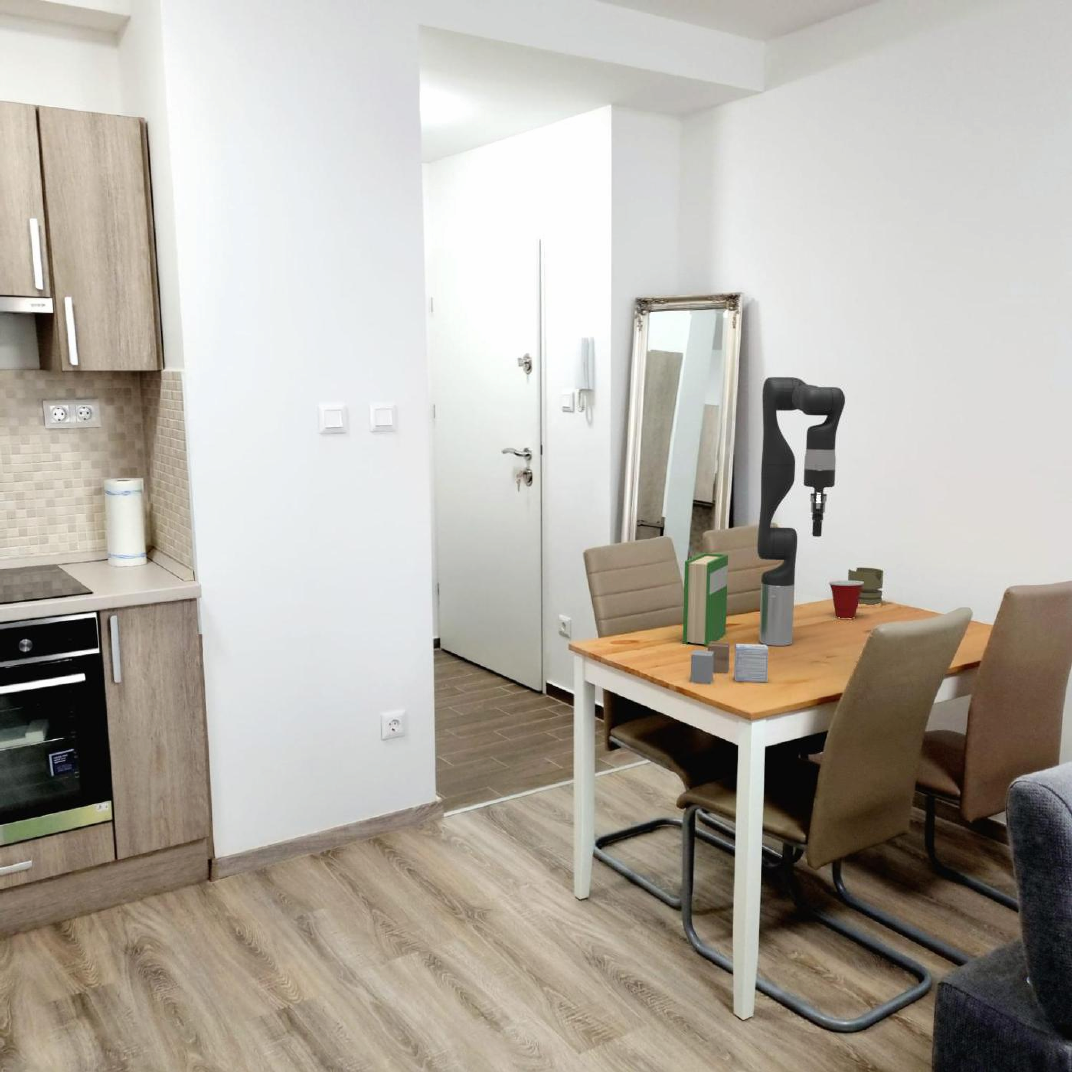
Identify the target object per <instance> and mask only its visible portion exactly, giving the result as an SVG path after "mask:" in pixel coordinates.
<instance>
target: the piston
mask: <svg viewBox="0 0 1072 1072" xmlns="http://www.w3.org/2000/svg"><path fill="white" fill-rule="evenodd" d="M847 570H848V571H847V572H848V573H847V581H862V582H864V584H863V585H862V589H861V592H860V597H859V602H858V604H866V605H875V604H879V603H881V602H882V601H883V597H882V596H883V591H882V590H880V589H883V585H884V583H883V582H884V581H883V580H884V570H883V569H880V568H873V567H856V570H852V569H850V568H849V569H847Z"/></svg>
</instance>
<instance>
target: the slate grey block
mask: <svg viewBox="0 0 1072 1072" xmlns="http://www.w3.org/2000/svg"><path fill="white" fill-rule="evenodd" d="M713 660H714V652H713V651H708V650H697V649H695V650H694V649H693V650H692V652H691V655H690V682H693V684H702V685H703V684H705V685H712V683H711V682H713V680H714V673H713ZM690 682H689V683H690Z"/></svg>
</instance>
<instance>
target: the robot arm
mask: <svg viewBox="0 0 1072 1072" xmlns="http://www.w3.org/2000/svg"><path fill="white" fill-rule="evenodd" d="M845 396H846V395H845V394H844V391H843V390H842V389H841V388H840V387H838V386H823V387H822V386H817V385H813V384H808V383H806V382H805V381H804V380H802V379H800V378H798V377H794V376H793V377H790V376H787V377H786V376H772V377H771V376H769V377H767V378H766V379H765V380H764V382H763V386H762V399H761V400H762V429H763V430H762V431H763V432H762V433H763V435H762V436H763V437H762V454H761V455H762V456H761V467H760V468H761V469H760V510H759V520H758V531H757V544H756V546H757V555H758V558H759V559H761V560H766V561H767V560H768V561H769V560H771V561H782V563H781V564H780V565H779V566H777V567H775V568H773V569H770V570H767V571H764V572H763V573H762V574H761V582H760V583H761V585H760V609H759V610H760V612H759V638H758V639H759V640H758V641H759V643H761V644H762V645H767V646H777V647H782V646H789V645H792V644H793V630H794V629H793V628H794V611H795V610H794V608H795V607H794V605H795V584H796V583H795V577H796V576H795V575H796V560H797V559H796V558H797V550H798V533H797V531H796V529H795V528H794V527H774V526H773V527H771V526H772V525H771V524H772V521H773V517H774V515H775V514H776V511H777V509H778V507H779V506H780V504H781V503H782V501H783V500H784V499H785V497H786V496H787V495H788V493H789V492H790V490H791V489H792V487H793V485H794V482H795V480H796V479H795V475H796V474H795V473H796V458H795V454H794V452H793V450H792V447H790V445H789V443H788V442H787V440H786V438H785V436H784V435H783V433H782V430H781V429H780V426H779V425H780V424H779V422H778V416H777V415H778V414H777V412H779V411H780V412H781V411H784V412H787V411H788V412H789V411H790V412H791V411H797V410H799V411H801V412H802V413H803V414H804V415H806V416H826V418H825V420H824V421H823V422H822V423H820V424H815V425H811V426H809V427H808V428H807V430H806V442H805V443H806V445H805V446H806V447H805V455H804V464H803V465H804V466H803V467H804V468H803V486H805V487H806V488H807V487H808V488H809V487H810V488H813V489H814V490H813V493H810V497H809V498H810V512H811V513H812V514H811V516H812V517H811V520H812V533H811V535H812V537H813V538H815V537H816V538H817V537H818V538H819V537H822V529H823V521H824V513H826V502H827V498H828V497H827V496H828V495H827V493H824V489H825V488H833V487H835V484H836V483H835V482H836V481H835V480H836V467H837V466H836V465H837V464H836V463H837V462H836V460H837V459H836V458H837V457H836V438H837V437H836V436H837V431H838V427H839V424H840V419H841V416H842V414H843V411H844V407H845V404H846V397H845Z"/></svg>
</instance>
